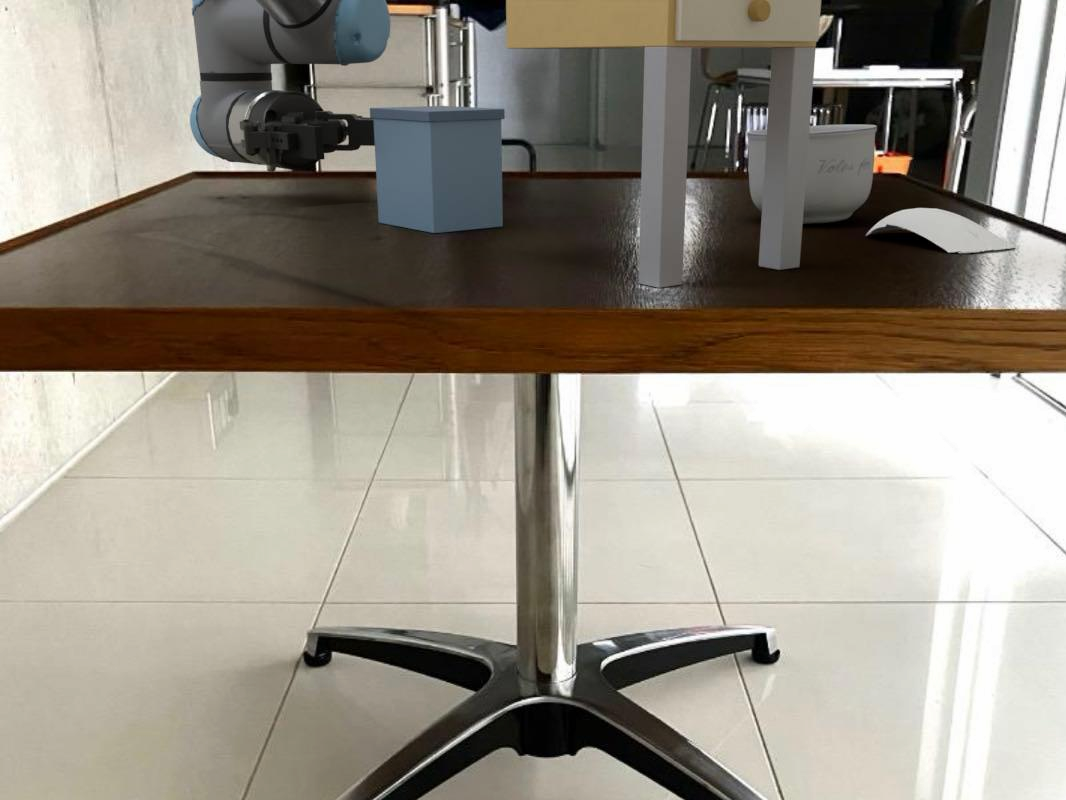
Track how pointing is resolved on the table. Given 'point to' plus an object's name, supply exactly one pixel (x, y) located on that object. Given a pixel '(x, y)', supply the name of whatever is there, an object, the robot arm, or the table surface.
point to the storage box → (439, 167)
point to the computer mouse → (943, 230)
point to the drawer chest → (667, 36)
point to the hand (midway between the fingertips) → (387, 139)
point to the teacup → (825, 170)
